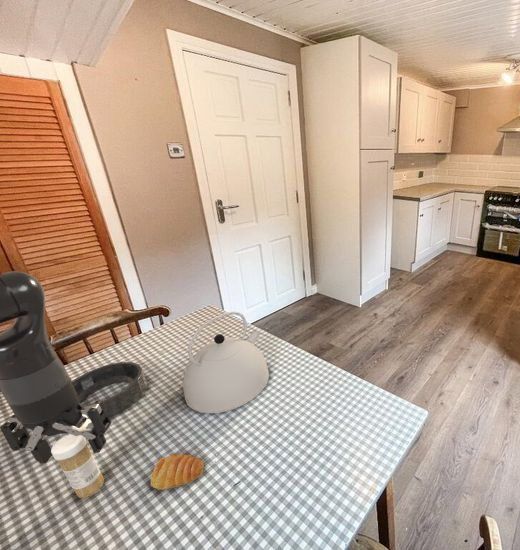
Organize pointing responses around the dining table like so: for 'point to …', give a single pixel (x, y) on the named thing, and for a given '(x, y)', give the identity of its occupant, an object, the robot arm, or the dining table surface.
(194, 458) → the pastry
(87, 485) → the sprinkles bottle
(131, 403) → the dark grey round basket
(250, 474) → the dining table surface
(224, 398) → the kettle
